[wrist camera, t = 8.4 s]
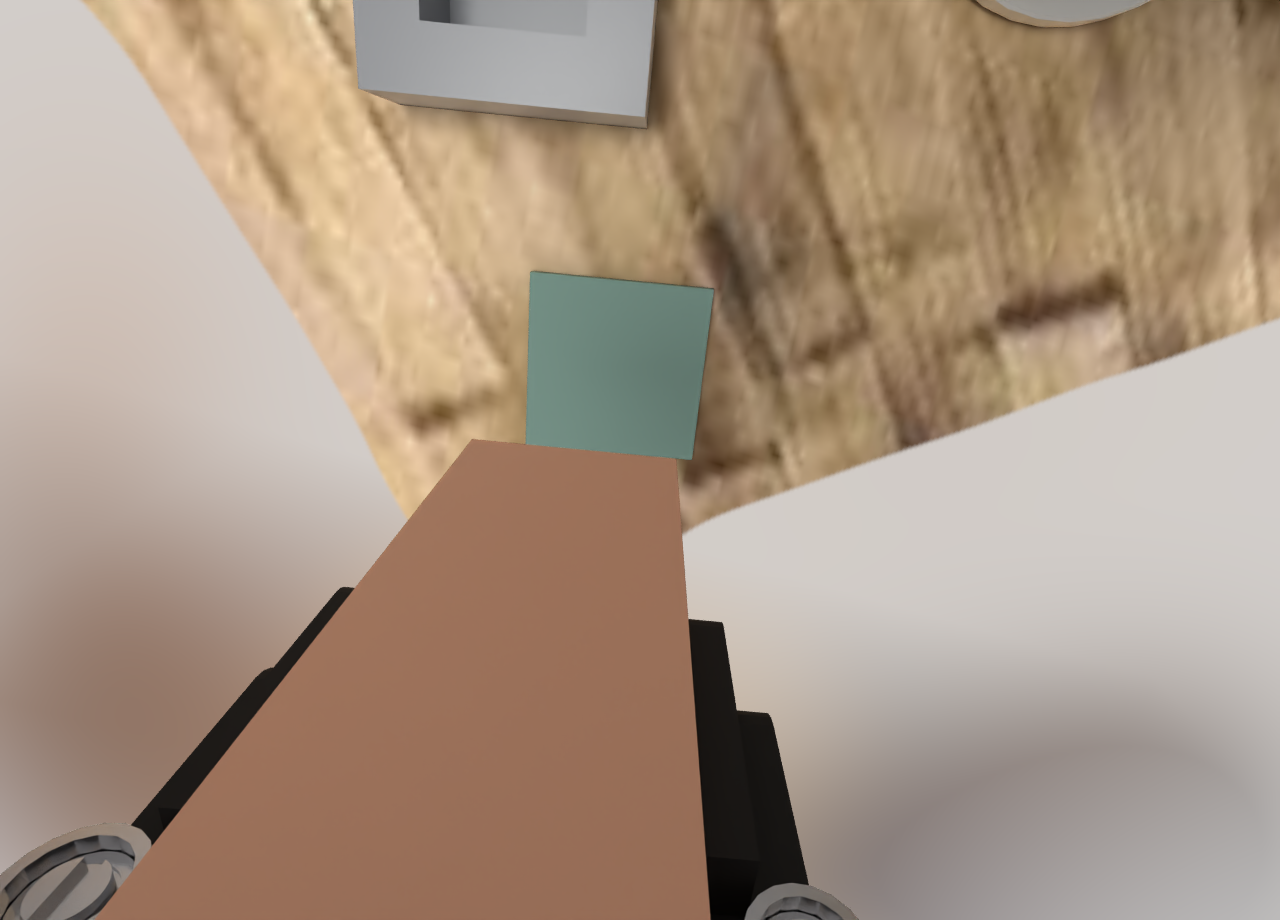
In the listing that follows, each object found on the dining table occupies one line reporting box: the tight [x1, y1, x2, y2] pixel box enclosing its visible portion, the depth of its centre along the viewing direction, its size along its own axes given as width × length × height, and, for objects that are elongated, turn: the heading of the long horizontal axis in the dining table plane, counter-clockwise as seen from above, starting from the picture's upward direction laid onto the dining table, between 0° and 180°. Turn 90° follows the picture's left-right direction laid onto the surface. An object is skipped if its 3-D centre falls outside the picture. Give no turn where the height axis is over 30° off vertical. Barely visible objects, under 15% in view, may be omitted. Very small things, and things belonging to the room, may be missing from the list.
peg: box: [94, 439, 711, 920], centre depth 10 cm, size 4×4×10 cm
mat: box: [526, 271, 714, 460], centre depth 30 cm, size 8×8×1 cm
